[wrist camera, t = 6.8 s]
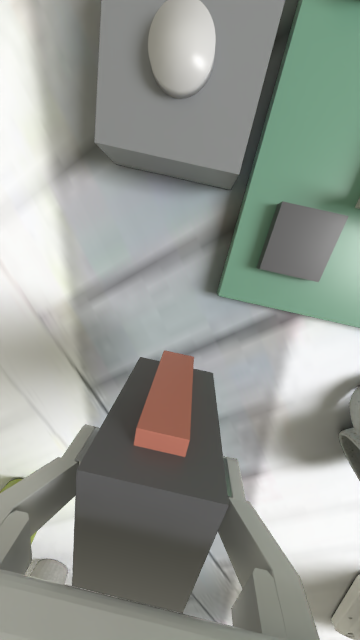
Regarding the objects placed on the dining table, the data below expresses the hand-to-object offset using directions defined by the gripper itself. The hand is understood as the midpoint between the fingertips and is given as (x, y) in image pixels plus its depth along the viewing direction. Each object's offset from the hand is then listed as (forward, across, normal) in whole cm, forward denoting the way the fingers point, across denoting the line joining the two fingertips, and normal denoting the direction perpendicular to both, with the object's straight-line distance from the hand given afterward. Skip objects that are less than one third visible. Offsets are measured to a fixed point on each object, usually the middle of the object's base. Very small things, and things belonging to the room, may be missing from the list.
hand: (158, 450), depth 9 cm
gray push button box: (+9, -3, +17) cm, 20 cm away
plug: (+3, 0, 0) cm, 3 cm away
